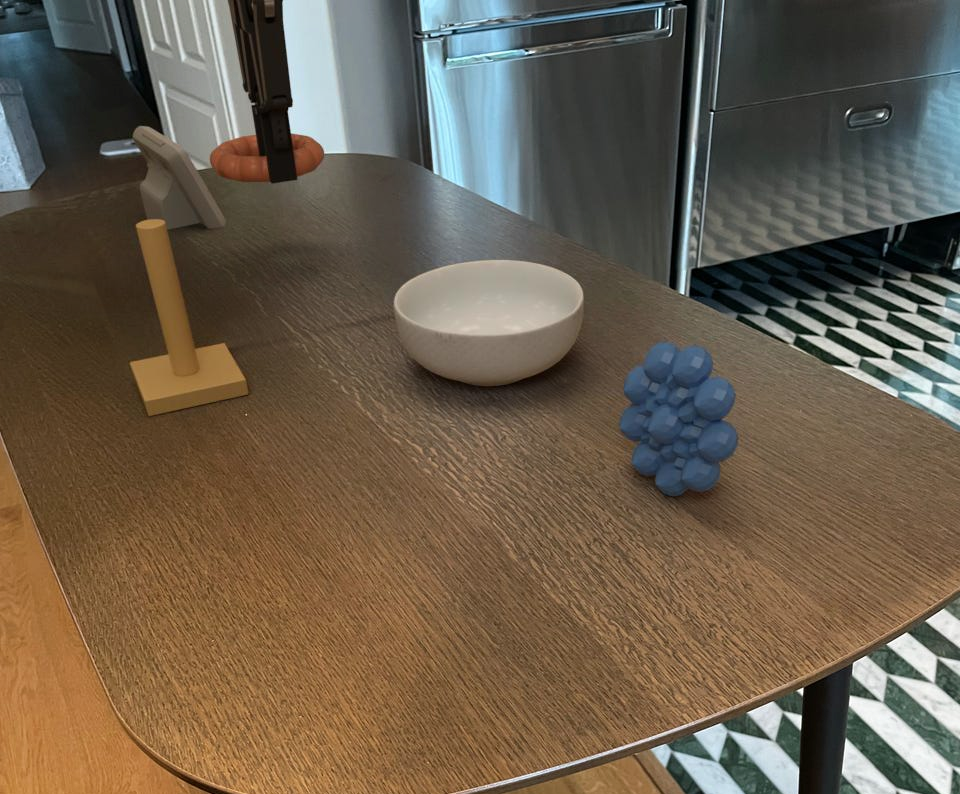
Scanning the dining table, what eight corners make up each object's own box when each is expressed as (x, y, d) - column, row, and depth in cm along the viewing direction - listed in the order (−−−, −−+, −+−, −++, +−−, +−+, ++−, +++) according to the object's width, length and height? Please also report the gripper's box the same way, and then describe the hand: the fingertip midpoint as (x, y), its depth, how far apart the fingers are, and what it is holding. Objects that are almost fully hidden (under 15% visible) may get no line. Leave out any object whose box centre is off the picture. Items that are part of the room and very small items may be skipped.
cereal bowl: (363, 373, 93) (353, 298, 88) (488, 317, 102) (485, 246, 97) (494, 430, 84) (491, 349, 79) (619, 363, 92) (623, 287, 88)
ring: (203, 163, 110) (199, 139, 109) (307, 148, 114) (304, 125, 112) (226, 191, 102) (222, 165, 100) (337, 174, 105) (334, 149, 104)
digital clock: (230, 237, 124) (212, 144, 118) (157, 248, 122) (134, 154, 115) (211, 201, 136) (193, 115, 129) (144, 211, 134) (122, 124, 127)
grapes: (767, 511, 73) (794, 354, 65) (694, 540, 70) (713, 381, 62) (666, 445, 80) (679, 298, 73) (597, 470, 78) (603, 320, 70)
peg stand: (133, 376, 94) (88, 217, 85) (227, 357, 97) (193, 200, 88) (148, 416, 88) (101, 249, 79) (249, 394, 91) (215, 229, 81)
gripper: (302, -102, 85) (336, 191, 100) (257, -111, 96) (294, 153, 111) (214, -96, 83) (262, 202, 98) (179, -106, 94) (227, 163, 109)
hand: (279, 176), depth 104 cm, fingers closed on ring, 3 cm apart
